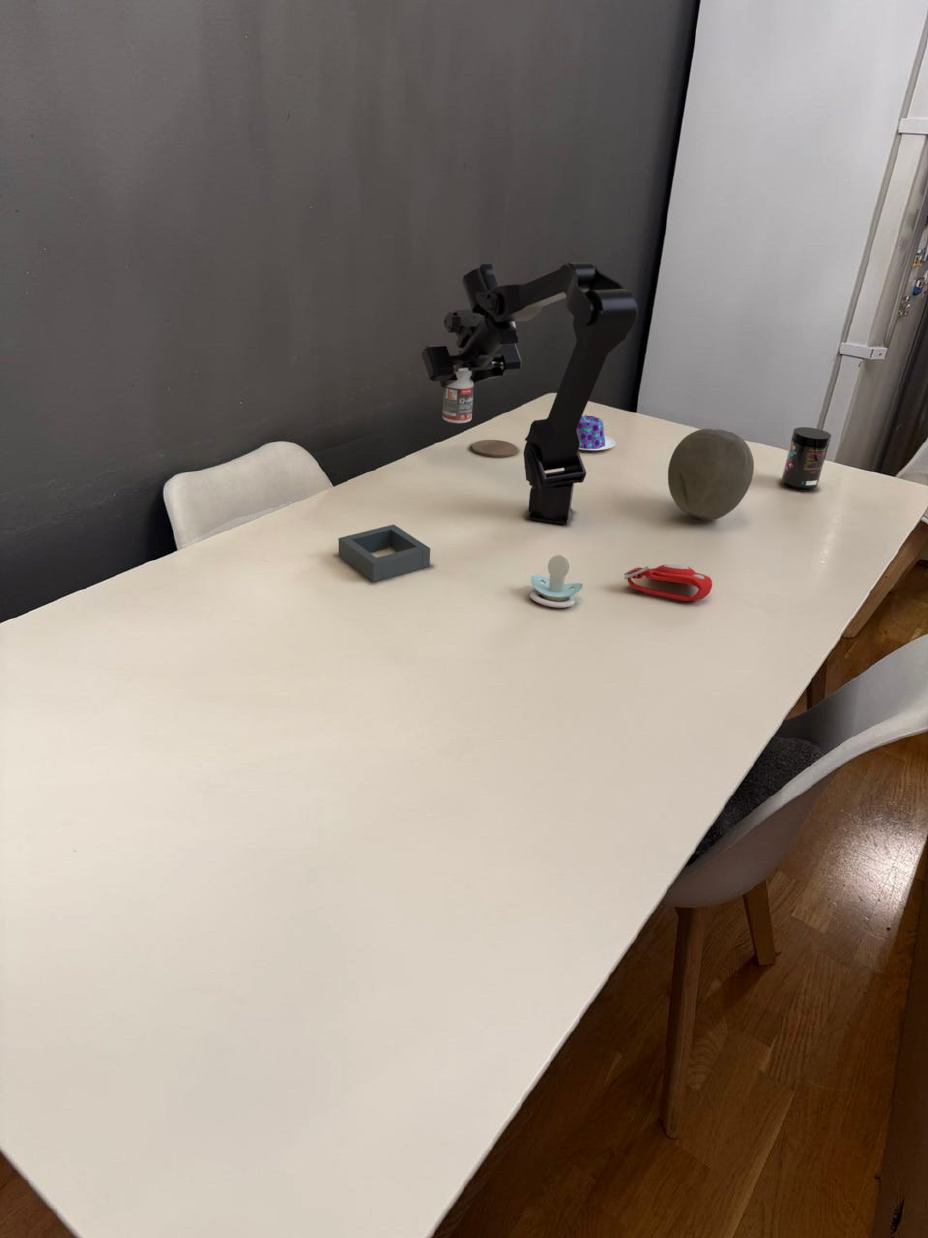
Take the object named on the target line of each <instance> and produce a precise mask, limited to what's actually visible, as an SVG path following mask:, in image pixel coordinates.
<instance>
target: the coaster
mask: <svg viewBox="0 0 928 1238" xmlns="http://www.w3.org/2000/svg"><path fill="white" fill-rule="evenodd" d="M471 448H472V451H473V452H475V454H478V455H481V456H483V457H484V456H485V457H489V458H508V457H512V456H514V455H515V454H517V453H518V447H517V446H516V445H515V444H514V443H511V442H508V441H506V440H498V439H482V440H478V441H475V442H474V443H473V444H472V446H471Z"/></svg>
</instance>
